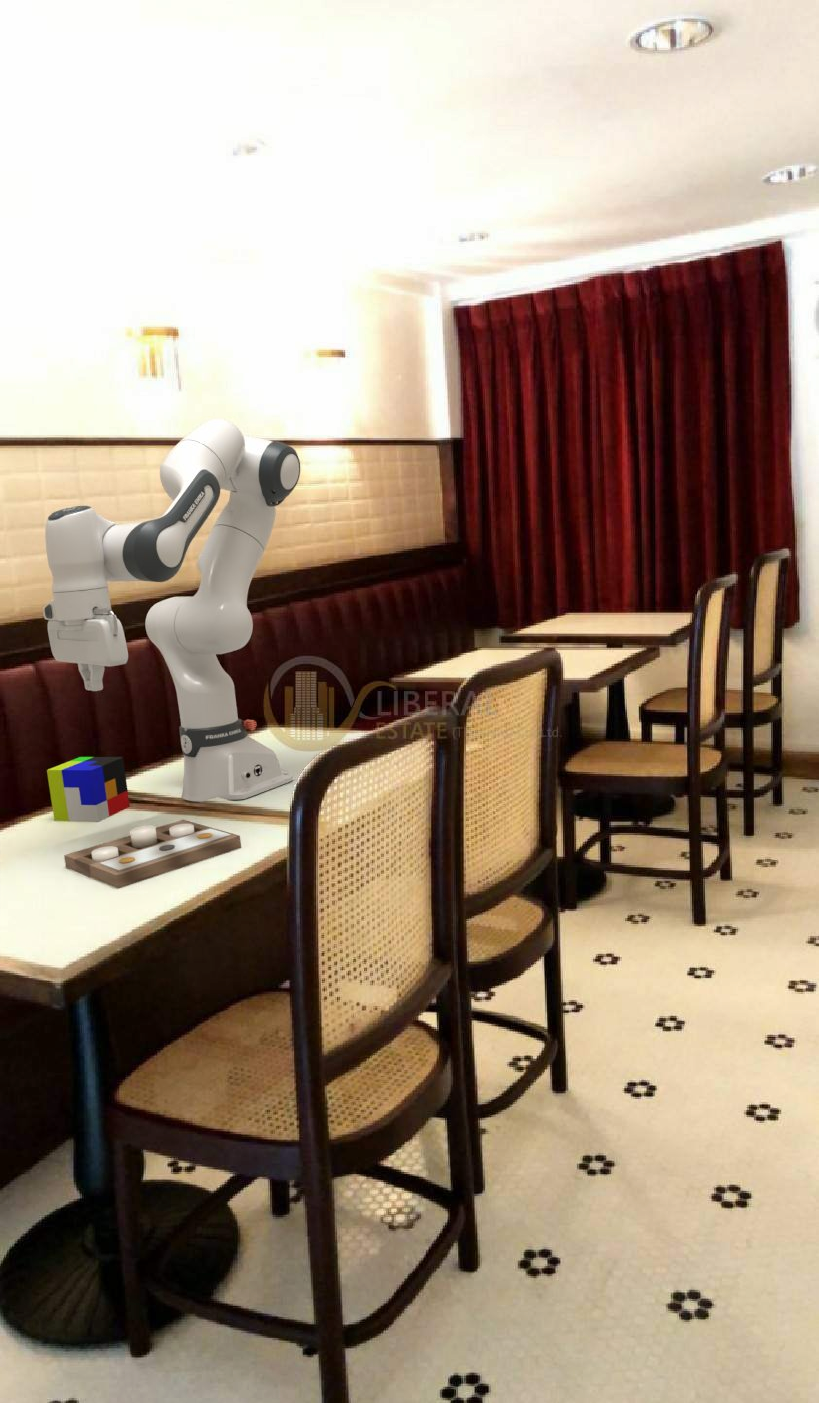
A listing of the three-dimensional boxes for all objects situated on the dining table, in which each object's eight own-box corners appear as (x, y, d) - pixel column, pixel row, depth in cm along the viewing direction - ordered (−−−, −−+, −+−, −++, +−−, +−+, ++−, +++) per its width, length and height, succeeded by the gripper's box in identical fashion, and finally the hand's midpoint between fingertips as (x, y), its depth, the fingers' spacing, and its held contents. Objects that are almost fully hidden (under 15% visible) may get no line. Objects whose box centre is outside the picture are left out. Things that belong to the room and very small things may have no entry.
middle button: (149, 838, 179) (147, 824, 178) (162, 842, 176) (160, 828, 175) (127, 845, 176) (125, 830, 175) (140, 849, 173) (138, 834, 173)
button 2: (187, 836, 184) (185, 822, 183) (200, 840, 181) (198, 826, 180) (166, 842, 181) (164, 828, 180) (179, 847, 178) (177, 832, 178)
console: (185, 836, 188) (183, 816, 187) (241, 853, 176) (239, 832, 175) (66, 873, 173) (63, 852, 173) (119, 894, 161) (116, 872, 160)
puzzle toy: (98, 822, 202) (91, 770, 200) (54, 821, 206) (46, 770, 204) (129, 807, 211) (123, 757, 209) (87, 806, 215) (79, 756, 213)
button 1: (112, 859, 174) (109, 844, 174) (124, 864, 171) (122, 849, 171) (89, 866, 172) (86, 851, 171) (101, 871, 169) (99, 856, 168)
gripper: (131, 605, 173) (142, 690, 175) (72, 604, 188) (83, 683, 190) (95, 610, 169) (107, 697, 171) (37, 609, 184) (49, 689, 186)
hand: (94, 690), depth 181 cm, fingers closed
